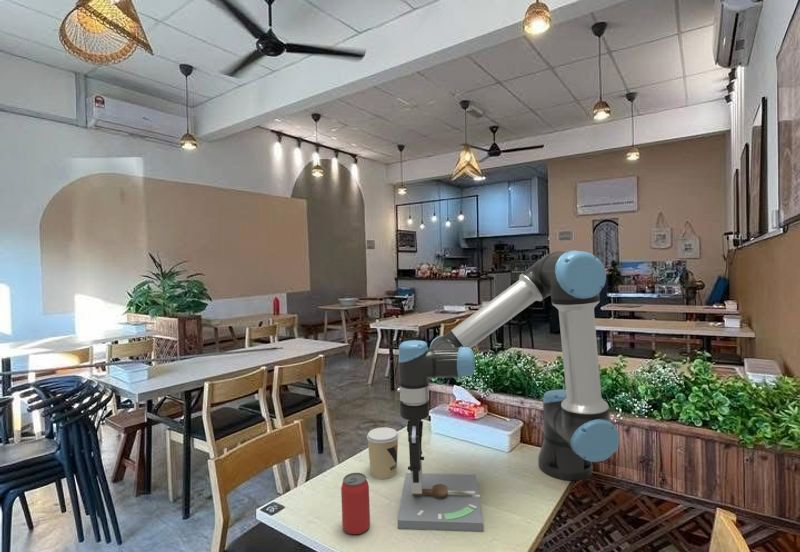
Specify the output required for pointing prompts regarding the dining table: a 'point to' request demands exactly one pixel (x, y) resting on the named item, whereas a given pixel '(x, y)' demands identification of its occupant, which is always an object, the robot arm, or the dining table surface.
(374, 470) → the coffee cup
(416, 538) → the dining table surface
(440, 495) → the peg dial
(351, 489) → the beer can
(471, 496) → the board
